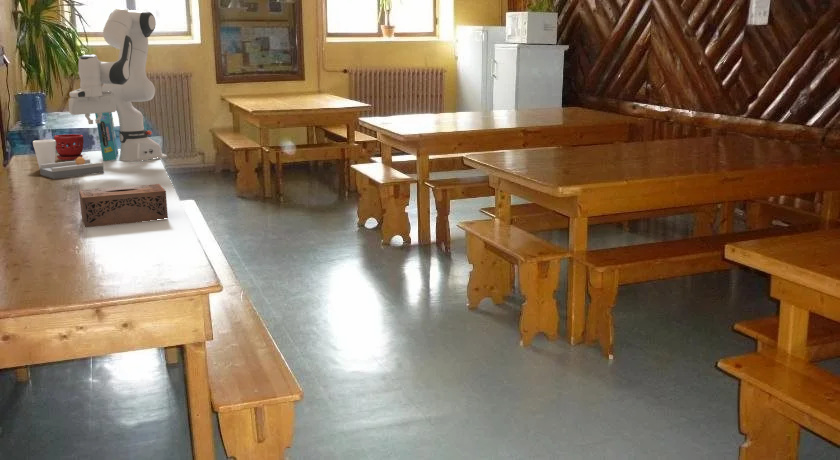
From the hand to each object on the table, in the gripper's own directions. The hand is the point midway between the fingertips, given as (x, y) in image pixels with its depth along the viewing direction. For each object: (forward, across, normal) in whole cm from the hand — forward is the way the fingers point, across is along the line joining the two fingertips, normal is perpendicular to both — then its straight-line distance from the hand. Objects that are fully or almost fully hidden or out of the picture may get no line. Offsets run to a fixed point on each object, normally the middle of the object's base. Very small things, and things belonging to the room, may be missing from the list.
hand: (94, 123), depth 360 cm
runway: (+21, +12, 0) cm, 24 cm away
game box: (+21, -21, -33) cm, 44 cm away
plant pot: (+21, -5, -42) cm, 47 cm away
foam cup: (+21, +15, -20) cm, 33 cm away
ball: (+16, +8, 0) cm, 18 cm away
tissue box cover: (+22, +37, +101) cm, 110 cm away
